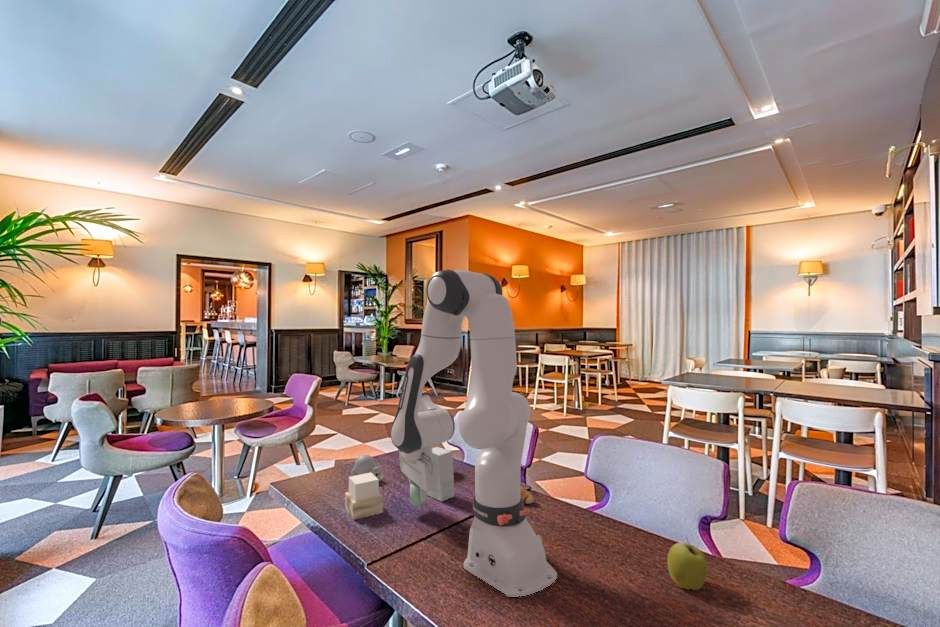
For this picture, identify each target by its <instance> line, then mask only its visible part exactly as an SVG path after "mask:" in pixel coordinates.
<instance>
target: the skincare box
mask: <svg viewBox="0 0 940 627" xmlns="http://www.w3.org/2000/svg"><path fill="white" fill-rule="evenodd" d="M430 457H431V460H432V461H433V462H434V463H435V465H436V471H437V484H438V485H437V489H436V490H433V491H428V492H427V497H430V498H433V499H434V500H438V501H440V502H444V501H447V500H449V498H450V499H452V498H454V497H455V477H454V476H455V475H454V456H453V450H449V449H445V448H443V447H439V446H435V447H432V455H431V456H430Z"/></svg>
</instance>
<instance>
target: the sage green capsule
mask: <svg viewBox="0 0 940 627" xmlns="http://www.w3.org/2000/svg"><path fill="white" fill-rule="evenodd" d="M420 491H421V490H420V487H419V486H418V485H417V484H416V483H412V484H410V483H409V504H410V505H411V506H414V507H415V506H416V507H417V506H418V507H419V506H423V505H426V504H427V503H428V498H427V499H426V501H421V500H420V499H419V494H420Z"/></svg>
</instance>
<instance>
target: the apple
mask: <svg viewBox="0 0 940 627" xmlns="http://www.w3.org/2000/svg"><path fill="white" fill-rule="evenodd" d="M685 538H686V541H687V542H677V543H675V544H673V545H672V546H671V547H670V549H669V550H668V553H667V570H668V573H669V576H670V577H671V579H672V581H673V582H674V583H675V584H676V585H677V586H678V587H680V588H681V587H682V588H681V589H683V588H685V589H684V590H690V589H692V591H698V590H701V588H702V587H703V585H704V583H705V582H706V579H707V577H708V576H707V575H708V570H709V569H708V568H709V567H708V566H709V565H708V561H707V558H706V556H705V554H704V552H703V551H702V550H701V549H700V548H698V547H697V546H696V545H693V544H690V543H689V540H688V537H687V536H686V537H685Z"/></svg>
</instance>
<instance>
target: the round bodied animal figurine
mask: <svg viewBox="0 0 940 627" xmlns="http://www.w3.org/2000/svg"><path fill="white" fill-rule="evenodd" d="M353 465H354V466H353V468H352V469H351V471H350V476H356V475H361V474H366V473H372V474H373V475H374V476H375V477H376V478H377V479H379V483H380V482H381V481H382V480H383V477H384V476H383V474H382V472H381V467H382V465H379V466H376V461H375V459H374V458H373V457H372V456H371V455H369V454H362V455H360V456H359V457H357V459H355V461H354V464H353Z"/></svg>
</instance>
